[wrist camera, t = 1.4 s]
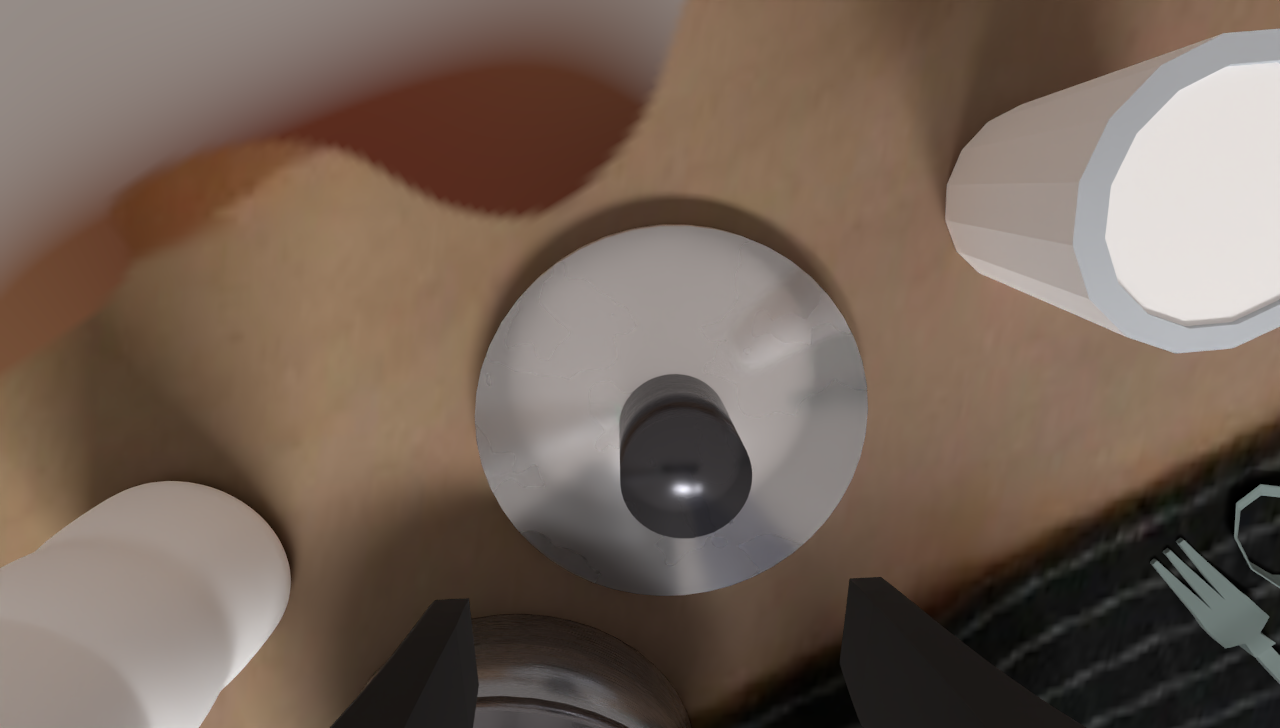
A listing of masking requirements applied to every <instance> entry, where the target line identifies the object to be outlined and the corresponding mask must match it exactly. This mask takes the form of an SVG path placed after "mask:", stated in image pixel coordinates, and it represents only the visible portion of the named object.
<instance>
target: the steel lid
mask: <svg viewBox="0 0 1280 728" xmlns="http://www.w3.org/2000/svg"><path fill="white" fill-rule="evenodd" d="M867 414H868V402H867V384H866V379H865V374H864V368H863V363H862V359H861V356H860V354H859V351H858V348H857V345H856V342H855V339H854V337H853V335H852V333H851V331H850V329H849V327H848V325H847V323H846V321H845V319H844V317H843V315H842V314H841V313H840V311H839V310H838V308H837V307H836V305H835V304H834V303H833V301H832V300H831V298H830V297H829V295H828V294H827V293H826V292H825V291H824V290H823V289H822V288H821V287H820V286H819V285H818V284H817V283H816V282H815V281H814V280H813V278H812V277H811V276H809V275H808V274H807V273H806V272H804V271H803V270H802V269H801V268H799V267H798V266H797V265H796V264H794V263H793V262H792V261H791V260H789V259H787V258H786V257H784V256H782V255H780V254H779V253H777V252H775V251H774V250H772V249H770V248H769V247H767V246H764V245H762V244H760V243H757V242H755V241H752V240H750V239H748V238H745V237H743V236H740V235H738V234H735V233H731V232H727V231H723V230H720V229H716V228H712V227H704V226H696V225H688V224H660V225H652V226H645V227H638V228H632V229H628V230H625V231H621V232H618V233H614V234H611V235H607V236H605V237H602V238H600V239H598V240H595V241H593V242H591V243H589V244H586V245H584V246H582V247H580V248H578V249H577V250H575V251H573V252H572V253H570V254H569V255H567V256H565V257H564V258H562V259H560V260H559V261H558V262H556V263H555V264H554V265H553V266H551V267H550V268H549V269H548V270H546V271H545V272H544V273H543V274H541V275H540V276H539V277H538V278H537V279H536V280H535V281H534V282H533V283H532V284H531V285H530V286H529V288H528V289H527V290H526V291H525V292H524V293H523V294H522V295H521V296H520V297H519V299H518V300H517V301H516V302H515V304H514V305H513V307H512V308H511V310H510V311H509V312H508V314H507V315H506V317H505V318H504V319H503V321H502V322H501V324H500V326H499V328H498V330H497V332H496V334H495V336H494V338H493V340H492V342H491V343H490V346H489V348H488V351H487V354H486V357H485V360H484V363H483V365H482V368H481V373H480V378H479V383H478V388H477V393H476V407H475V426H476V438H477V445H478V450H479V454H480V458H481V463H482V467H483V469H484V472H485V475H486V477H487V480H488V483H489V485H490V488H491V490H492V492H493V494H494V495H495V497H496V499H497V501H498V503H499V505H500V506H501V508H502V510H503V511H504V513H505V514H506V515H507V517H508V518H509V519H510V521H511V522H512V523H513V525H514V526H515V528H516V529H517V530H518V531H519V532H520V533H521V534H522V535H523V536H524V537H525V538H526V539H527V540H528V541H529V542H530V543H531V544H532V545H533V546H534V547H535V548H536V549H538V550H539V551H540V552H541V553H543V554H544V555H545V556H546V557H547V558H549V559H550V560H551V561H553V562H555V563H556V564H558V565H559V566H561V567H563V568H564V569H566V570H568V571H569V572H571V573H573V574H575V575H577V576H580V577H582V578H584V579H586V580H588V581H590V582H593V583H596V584H599V585H602V586H605V587H608V588H611V589H615V590H620V591H625V592H630V593H635V594H644V595H656V596H673V595H689V594H696V593H702V592H709V591H712V590H716V589H720V588H724V587H728V586H731V585H734V584H736V583H739V582H741V581H744V580H747V579H749V578H752V577H754V576H756V575H758V574H760V573H762V572H763V571H765V570H767V569H769V568H771V567H773V566H775V565H776V564H778V563H779V562H780V561H782V560H783V559H785V558H786V557H788V556H789V555H791V554H792V553H794V552H795V551H796V550H797V549H798V548H799V547H800V546H802V545H803V544H804V543H805V542H806V541H807V540H808V539H810V538H811V537H812V536H813V535H814V534H815V532H816V531H817V530H818V529H819V528H820V527H821V526H822V525H823V524H824V522H825V521H826V520H827V519H828V518H829V516H830V515H831V513H832V512H833V511H834V509H835V508H836V506H837V505H838V503H839V502H840V501H841V499H842V497H843V495H844V493H845V491H846V489H847V487H848V486H849V484H850V482H851V480H852V478H853V475H854V472H855V470H856V467H857V464H858V462H859V459H860V456H861V452H862V447H863V443H864V439H865V434H866V425H867Z"/></svg>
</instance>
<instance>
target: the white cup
mask: <svg viewBox="0 0 1280 728" xmlns="http://www.w3.org/2000/svg"><path fill="white" fill-rule="evenodd" d="M945 221H946V224H947V227H948V230H949V232H950V235H951V238H952V241H953V243H954V246H955V249H956V251H957V252H958V253H959V254H960V255H961V256H962V257H963V258H964V259H965V260H966V261H967V262H968V263H969V264H970V265H971V266H972V267H973V268H974V269H975V270H976V271H977V272H978V273H980V274H982V275H985V276H987V277H989V278H992V279H994V280H996V281H999V282H1001V283H1003V284H1006V285H1008V286H1010V287H1012V288H1015V289H1017V290H1019V291H1022V292H1024V293H1026V294H1029V295H1031V296H1033V297H1036V298H1038V299H1040V300H1042V301H1045V302H1047V303H1049V304H1052V305H1054V306H1056V307H1059V308H1061V309H1063V310H1065V311H1068V312H1070V313H1072V314H1075V315H1077V316H1079V317H1082V318H1084V319H1086V320H1089V321H1091V322H1093V323H1095V324H1098V325H1100V326H1102V327H1105V328H1107V329H1109V330H1112V331H1114V332H1116V333H1119V334H1121V335H1123V336H1125V337H1128V338H1131V339H1134V340H1137V341H1140V342H1143V343H1146V344H1149V345H1152V346H1155V347H1158V348H1161V349H1164V350H1167V351H1170V352H1173V353H1187V352H1198V351H1209V350H1220V349H1231V348H1234V347H1237V346H1239V345H1241V344H1243V343H1245V342H1247V341H1250V340H1252V339H1254V338H1256V337H1258V336H1260V335H1262V334H1265V333H1267V332H1269V331H1271V330H1273V329H1275V328H1278V327H1280V29H1270V30H1258V31H1245V32H1233V33H1223V34H1220V35H1218V36H1215V37H1212V38H1209V39H1206V40H1203V41H1200V42H1198V43H1195V44H1192V45H1189V46H1186V47H1183V48H1181V49H1178V50H1175V51H1172V52H1169V53H1166V54H1163V55H1161V56H1158V57H1155V58H1152V59H1149V60H1146V61H1144V62H1141V63H1138V64H1135V65H1132V66H1129V67H1126V68H1124V69H1121V70H1118V71H1115V72H1112V73H1109V74H1107V75H1104V76H1101V77H1098V78H1095V79H1092V80H1090V81H1087V82H1084V83H1081V84H1078V85H1075V86H1072V87H1070V88H1067V89H1064V90H1061V91H1058V92H1055V93H1053V94H1050V95H1047V96H1044V97H1041V98H1038V99H1035V100H1033V101H1030V102H1027V103H1024V104H1021V105H1019V106H1017V107H1015V108H1013V109H1012V110H1010V111H1008V112H1006V113H1004V114H1002V115H1000V116H998V117H996V118H994V119H992V120H990V121H988V122H987V123H986V124H985V125H984V126H983V127H982V129H981V130H980V131H979V132H978V133H977V134H976V135H975V136H974V137H973V138H972V139H971V140H970V142H969V143H968V144H967V145H966V146H965V147H964V148H963V149H962V150H961V153H960V155H959V157H958V160H957V162H956V164H955V167H954V169H953V171H952V174H951V176H950V178H949V181H948V183H947V190H946V211H945Z"/></svg>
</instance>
